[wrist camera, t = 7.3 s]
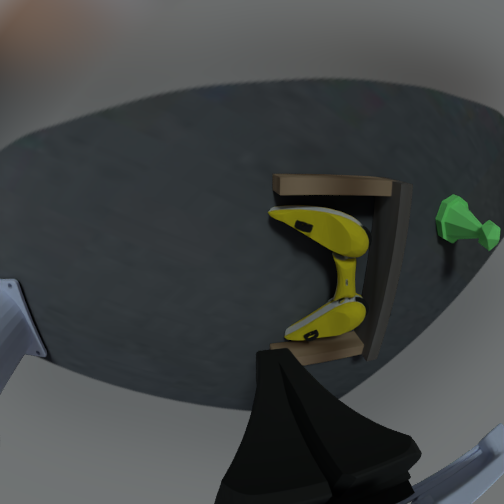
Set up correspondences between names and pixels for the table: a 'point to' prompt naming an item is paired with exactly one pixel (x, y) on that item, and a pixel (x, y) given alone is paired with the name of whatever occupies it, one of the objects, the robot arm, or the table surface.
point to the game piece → (464, 224)
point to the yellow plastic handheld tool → (350, 246)
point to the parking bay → (378, 266)
